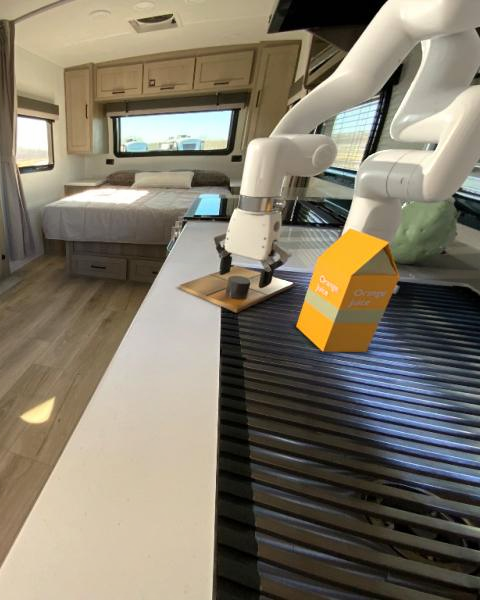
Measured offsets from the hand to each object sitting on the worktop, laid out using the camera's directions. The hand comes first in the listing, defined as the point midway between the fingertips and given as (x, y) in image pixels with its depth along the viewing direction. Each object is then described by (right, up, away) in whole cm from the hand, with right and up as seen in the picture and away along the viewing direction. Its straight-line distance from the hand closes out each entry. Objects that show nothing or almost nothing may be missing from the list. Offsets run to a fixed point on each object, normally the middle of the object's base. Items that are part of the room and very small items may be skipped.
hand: (243, 279), depth 76 cm
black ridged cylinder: (-1, -4, +2) cm, 4 cm away
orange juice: (+10, -12, -13) cm, 20 cm away
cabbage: (+59, +6, +22) cm, 63 cm away
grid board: (+2, -2, +8) cm, 8 cm away
